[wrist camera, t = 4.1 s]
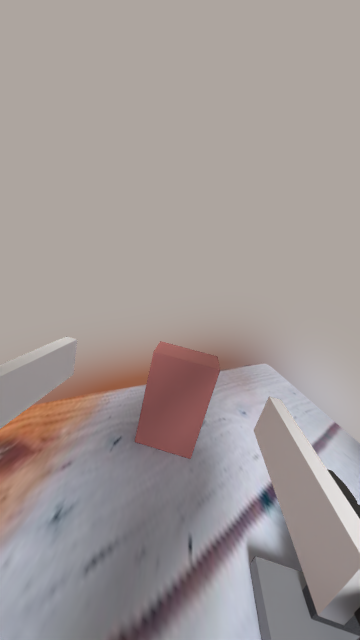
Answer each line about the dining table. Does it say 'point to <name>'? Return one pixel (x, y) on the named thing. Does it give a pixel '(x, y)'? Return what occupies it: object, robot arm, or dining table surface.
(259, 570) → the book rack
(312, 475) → the robot arm
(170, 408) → the red rectangular block
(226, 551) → the dining table surface
